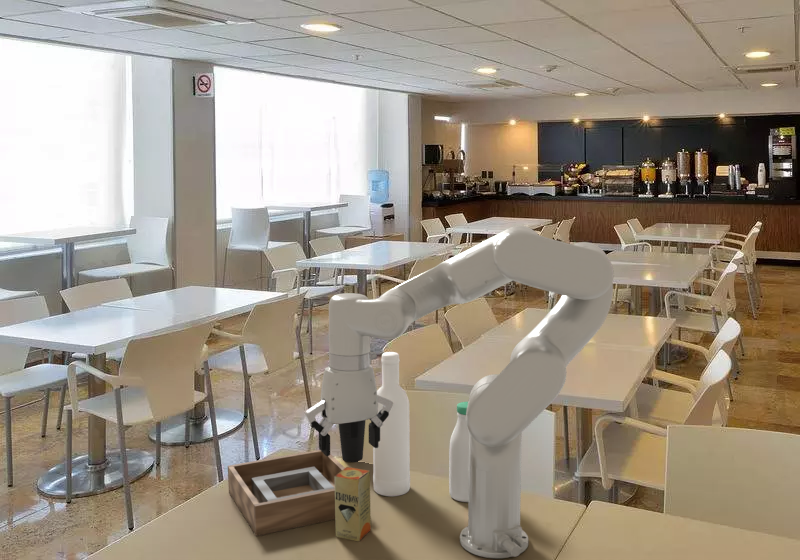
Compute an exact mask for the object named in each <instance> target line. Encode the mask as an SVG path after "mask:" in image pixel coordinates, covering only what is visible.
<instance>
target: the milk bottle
mask: <svg viewBox="0 0 800 560" xmlns="http://www.w3.org/2000/svg"><path fill="white" fill-rule="evenodd" d="M467 406H468V401H462V402H459V403H457V404H456V412H457V413H456V415H457V421H456V423H455V426H454V429H453V431H452V434H451V436H450V440H449V454H448V455H449V459H448V460H449V463H448V467H449V470H448V474H449V475H448V481H449V482H448V487H449V489H448V490H449V491H448V492H449V496H450V498H452V499H454V500H455V501H457V502H463V503H468V499H469V430H468V428H467V424H466V411H467Z"/></svg>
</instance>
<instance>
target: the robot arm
mask: <svg viewBox="0 0 800 560" xmlns="http://www.w3.org/2000/svg"><path fill="white" fill-rule="evenodd" d="M614 274H615V273H614V267H613V264H612V262H611V259H610V258H609V257H608V255H607V254H606V253H605V251H604V250H603V249H602V248H601V247H600V246H598V245H597V244H595V243H592V242H588V241H582V242H580V241H579V242H576V243H574V244H572V243H567V242H564V241H561V240H560V241H559V240H556V239H553V238H549V237H545V236H543V235H540V234H538V233H537V232H536V231H535V230H534V229H533V228H530V227H529V226H526V225H514V226H511V227H508V228H507V229H504V230H503V231H500V232H499V233H496V234H495V235H493V236H490V237H489V238H487V239H485V240H483V241H481V242H479V243H477V244H476V245H473V246H472V247H470V248H468V249H466V250H464V251H462V252H459V253H458V254H456V255H454V256H452V257H450V258H448V259H446V260H444V261H442V262H440V263H439V264H437V265H436V266H434V267H432V268H430V269H428V270H426V271H424V272H422V273H420V274H418V275H416V276H413V277H412V278H410V279H408V280H406V281H404V282H403V283H401V284H398V285H396V286H395V287H393V288H391V289H389V290H387V291H386V292H384V293H382V294H381V295H380V296H379V297H378V298H374V299H369V298H368V297H367V295H365V294H361V293H355V292H354V293H353V292H352V293H351V292H350V293H349V292H346V293H339V294H338V293H337V294H334V295H333V296H332V297H330V299H329V302H328V350H329V351H328V356H329V357H328V363H329V364H328V365H329V366H328V367H327V366H326V367H325V368H324V371H323V374H322V375H323V376H322V381H321V390H320V401H319V402H317V403H316V404H314V405H313V406H311V407H310V408H308V409H307V410H305V412H304V414H303V415H304V416H305V418H306V420H307V421H308V423H309V425H310V426H311V428H313V429H314V430H315V431H316V432H318V448H319V449H318V450H321V451H322V452H323V453H324V454H325V455H326V456H329V455H330V454H331V436H330V434H329V432H330V431H331V429H332V428H333V426H335V425H339V424H342V423H349V422H356V421H362V420H366V421H368V420H370V422H369V424H368V443H369V444H370V445H371V446H372V448H373V447H374V448H378V442H379V441H380V427H382V425H383V422H384V421H385V420H386V418H387V417H388V416H389V412H390V410H391V408H392V406H393V402H392V401H391V400H389V399H387V398H384V397H382V396H379V395H377V390H378V388H377V381H376V375H375V370H374V367H373V365H372V361H373V360H376V359H377V356H378V355H377V352H376V351H372V350H371V338H375V339H379V340H387V341H388V340H389V341H390V340H395V339H398V338H399V337H401V336H402V335H404V333H406V331H407V329H408V328H409V326H410V325H411V324H412V323H414V322H415V321H417V320H420V319H422V318H423V317H426V316H427V315H429V314H432V313H433V312H435V311H437V310H439V309H442V308H444V307H445V308H446V307H447V306H448V307H449V306H450V305H460V304H461V305H463V304H467V303H470V302H472V301H475V300H477V299H479V298H481V297H483V296H485V295H488V294H489V293H491V292H492V291H494V290H496V289H498V288H501V287H502V286H504V285H507V284H509V283H510V282H516V283H519V284H522V285H525V286H528V287H532V288H535V289H539V290H542V291H546V292H551V293H554V294H558V295H561V296H560V298H559V300H558V301H557V303H556V304H555V305H554V306H553V307H552V308H551V310H549V312H547V314H546V315H545V316H544V317H543V319H541V321H539V322H538V324H536V325H535V326H534V327H533V328H532V330H531V331H529V332H528V333H527V334H526V335H525V336H524V337H523V338H522V339H521V340H520V341H519V342H518V343H517V344H515V347H514V348H513V349H512V351H511V354H510V358H509V360H510V361H509V363H508V364H507V365H506V366H505V367H504V368H503V369H502V371H501V372H500V373H498V374H493V373H492V374H488V375H485V376H483V377H481V378H480V379H479V380H478V381H477V382H475V384H474V386H473V387H472V389H471V391H470V394H469V397H468V401H467V402H468V406H467V411H466V424H467V428H468V430H469V499H468V502H467V503H468V504H467V505H468V511H467V512H468V514H467V515H468V523H467V524H468V525H467V526H466V527H464V528H463V529H461V532H460V534H459V544H460V545H461V546H462V548H463V549H464V550H465V551H467V552H469V553H471V554H473V555H475V556H478V557H483V558H488V559H506V558H513V557H514V558H515V557H518V556H520V554H522V553H523V552H525V551H526V550H527V549H528V546H529V536H528V534H527V532H525V531H524V530H523V528H522V526H521V498H522V497H521V492H522V491H521V490H522V488H521V487H522V485H521V484H522V483H521V482H522V474H521V473H522V447H523V443H522V441H523V432H524V431H525V429H527V428H528V427H529V426H531V424H532V423H533V422H534V421H535V420H536V419H537V418H538V416H540V415H541V414H542V413H543V412H544V410H546V409H547V408H548V406H550V405H551V403H553V402H554V401H555V399H556V398H557V397H558V396H559V394H560V393H561V392H562V389H563V388H564V386H565V383H566V381H567V367H568V366H569V364H570V363H571V362H572V361H573V360H574V358H575V357H576V356H577V355H578V354H579V353H580V352H581V351H582V350H583V349H584V347H585V346H587V344H588V343H589V342H590V341H591V340H592V339H593V338H594V337H595V335H596V334H597V333H598V332H599V330H600V329H601V328H602V326H603V324H604V323H605V321H606V319H607V317H608V314H609V312H610V309H611V305H612V302H613V301H612V299H613V293H614V291H613V290H614V282H613V281H614V277H615V275H614ZM378 403H380V404H383V407H382V410H380V412H379V413H378V414H377V411H378ZM318 414H320V416H321V417H322V419H321V420H320V421H319V422H318V421H317V419H316V415H318Z"/></svg>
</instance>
